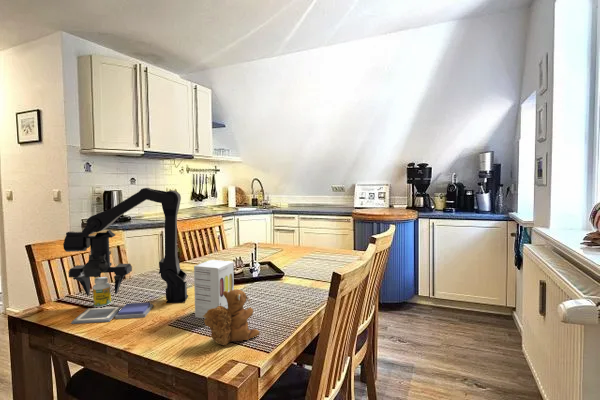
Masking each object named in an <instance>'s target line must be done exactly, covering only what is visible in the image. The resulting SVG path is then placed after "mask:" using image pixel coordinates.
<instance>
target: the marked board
mask: <svg viewBox="0 0 600 400" xmlns="http://www.w3.org/2000/svg"><path fill="white" fill-rule="evenodd" d="M121 308H123V306H106V307H102V308H96V307H90V308H89V307H88V308H86V309H85V310H84V311H83V312H82V313H80V314H79V315H78V316H77V317H75V318H74V319H73V320H72V321H71V323H70V324H72V325H73V324H74V325H75V324H89V323H91V324H92V323H108V322H111V321H112V319H114V318H115V316H116V315H117V313H118V312H119V310H120V309H121Z"/></svg>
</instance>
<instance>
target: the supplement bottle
mask: <svg viewBox="0 0 600 400" xmlns="http://www.w3.org/2000/svg"><path fill="white" fill-rule="evenodd" d="M111 291H112V290H111V283H110V282H109V278H108V277H107V276H99V277H95V279H94V285H93V286H92V296H93V298H92V299H93V306H94V307H93V308H96V307H102V308H104V307H103V306H106V305H109V304H110V305H112V292H111ZM110 305H109V306H110ZM106 307H107V306H106Z"/></svg>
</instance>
